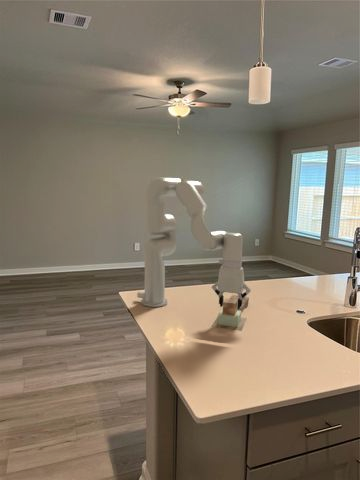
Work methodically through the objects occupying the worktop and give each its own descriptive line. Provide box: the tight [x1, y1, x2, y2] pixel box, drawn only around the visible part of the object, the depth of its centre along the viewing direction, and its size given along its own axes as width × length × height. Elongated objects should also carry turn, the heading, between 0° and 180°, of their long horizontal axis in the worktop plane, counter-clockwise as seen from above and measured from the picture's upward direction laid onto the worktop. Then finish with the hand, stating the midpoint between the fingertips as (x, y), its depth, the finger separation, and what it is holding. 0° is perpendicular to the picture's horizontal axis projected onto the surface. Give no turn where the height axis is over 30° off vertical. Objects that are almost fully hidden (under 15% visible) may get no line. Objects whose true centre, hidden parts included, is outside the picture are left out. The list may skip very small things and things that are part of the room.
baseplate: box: [211, 316, 247, 332], centre depth 148 cm, size 12×14×1 cm
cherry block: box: [222, 298, 237, 316], centre depth 147 cm, size 5×5×5 cm
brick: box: [229, 294, 250, 313], centre depth 167 cm, size 17×8×5 cm, turn 157°
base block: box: [217, 308, 242, 327], centre depth 148 cm, size 8×8×4 cm
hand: (230, 306), depth 147 cm, fingers open, 6 cm apart
